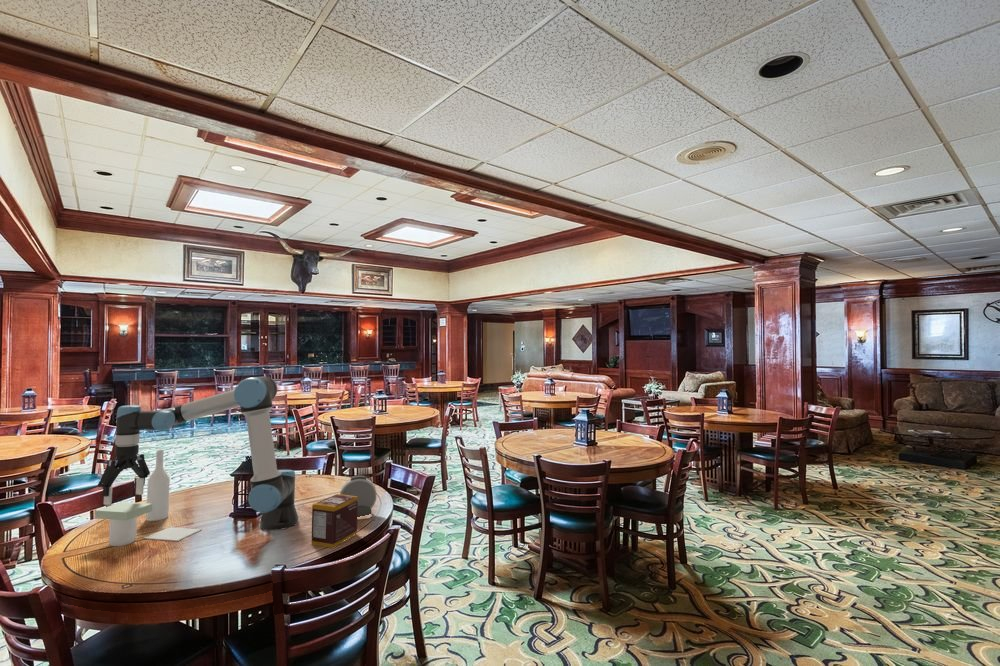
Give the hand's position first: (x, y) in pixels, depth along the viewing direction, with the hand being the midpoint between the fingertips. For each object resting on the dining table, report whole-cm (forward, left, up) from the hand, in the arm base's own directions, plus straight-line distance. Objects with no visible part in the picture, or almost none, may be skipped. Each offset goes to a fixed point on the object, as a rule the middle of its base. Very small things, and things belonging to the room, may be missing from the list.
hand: (124, 499), depth 188 cm
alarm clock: (-78, -42, -16) cm, 90 cm away
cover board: (0, 0, -6) cm, 6 cm away
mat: (-14, -9, -16) cm, 23 cm away
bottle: (+9, -25, -16) cm, 31 cm away
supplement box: (-81, -15, -16) cm, 84 cm away
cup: (0, 0, -16) cm, 16 cm away
